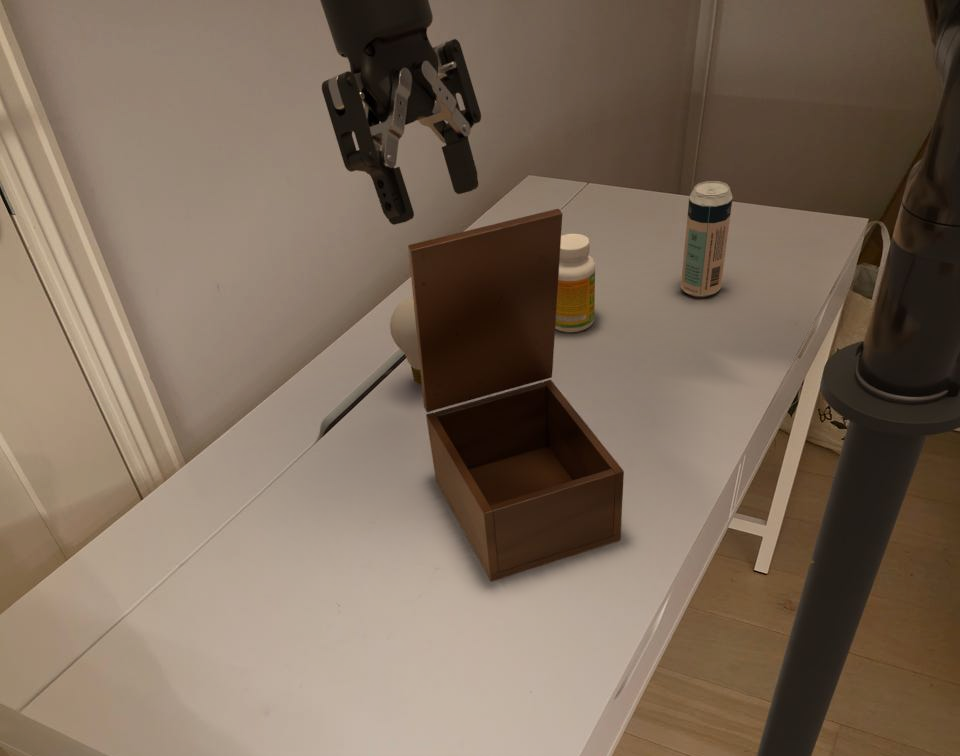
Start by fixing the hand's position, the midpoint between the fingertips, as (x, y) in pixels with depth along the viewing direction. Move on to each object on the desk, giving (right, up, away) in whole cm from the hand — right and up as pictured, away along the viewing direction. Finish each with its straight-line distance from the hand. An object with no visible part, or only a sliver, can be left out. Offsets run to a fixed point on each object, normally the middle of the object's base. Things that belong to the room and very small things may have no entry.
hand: (436, 206), depth 71 cm
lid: (+4, -8, +4) cm, 10 cm away
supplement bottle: (+15, +3, +34) cm, 37 cm away
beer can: (+31, +8, +37) cm, 49 cm away
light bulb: (-3, -6, +28) cm, 29 cm away
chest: (+8, -23, +12) cm, 27 cm away
